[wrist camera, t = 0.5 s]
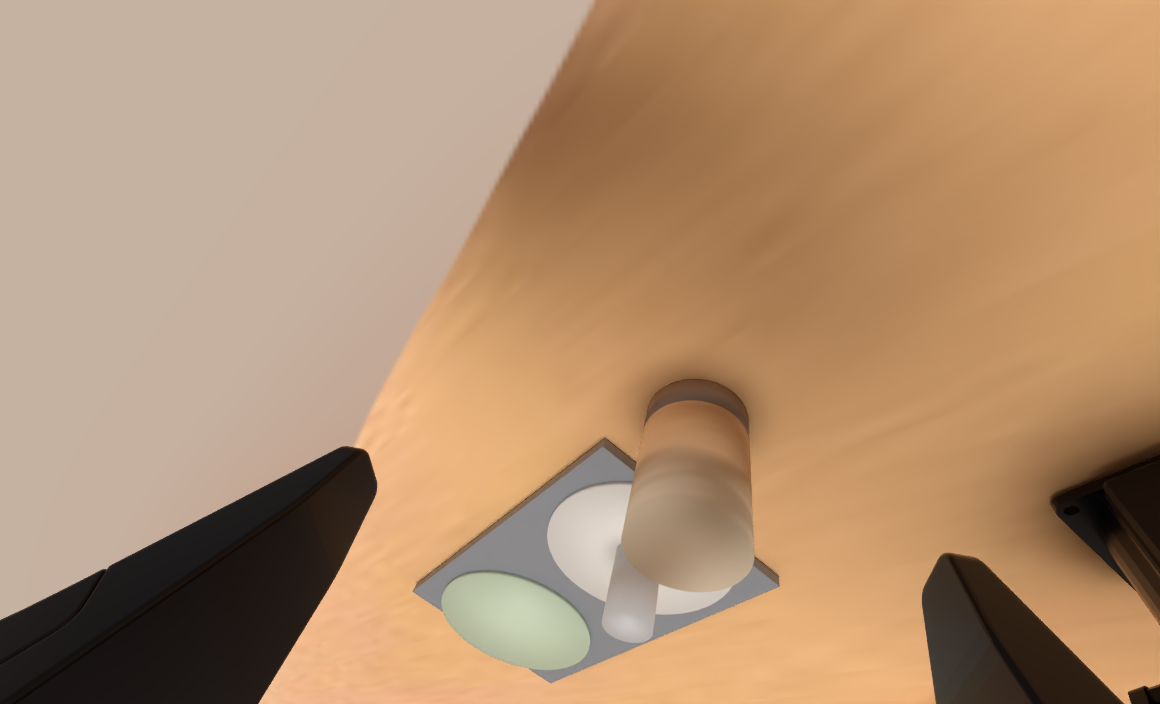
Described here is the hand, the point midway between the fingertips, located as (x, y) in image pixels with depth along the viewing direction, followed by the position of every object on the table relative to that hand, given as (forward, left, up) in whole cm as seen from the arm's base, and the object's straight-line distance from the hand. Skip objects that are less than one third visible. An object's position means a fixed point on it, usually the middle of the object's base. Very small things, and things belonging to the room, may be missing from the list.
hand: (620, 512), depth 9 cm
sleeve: (-7, +6, -13) cm, 16 cm away
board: (-11, +20, -13) cm, 26 cm away
